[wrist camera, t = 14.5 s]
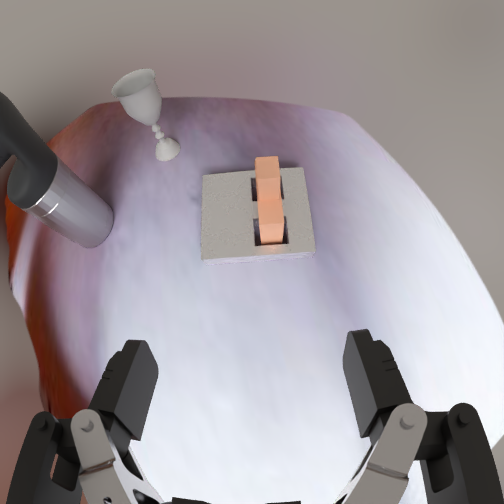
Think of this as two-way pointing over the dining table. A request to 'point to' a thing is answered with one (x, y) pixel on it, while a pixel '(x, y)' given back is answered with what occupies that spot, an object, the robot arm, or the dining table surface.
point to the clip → (269, 200)
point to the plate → (252, 219)
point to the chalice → (145, 107)
